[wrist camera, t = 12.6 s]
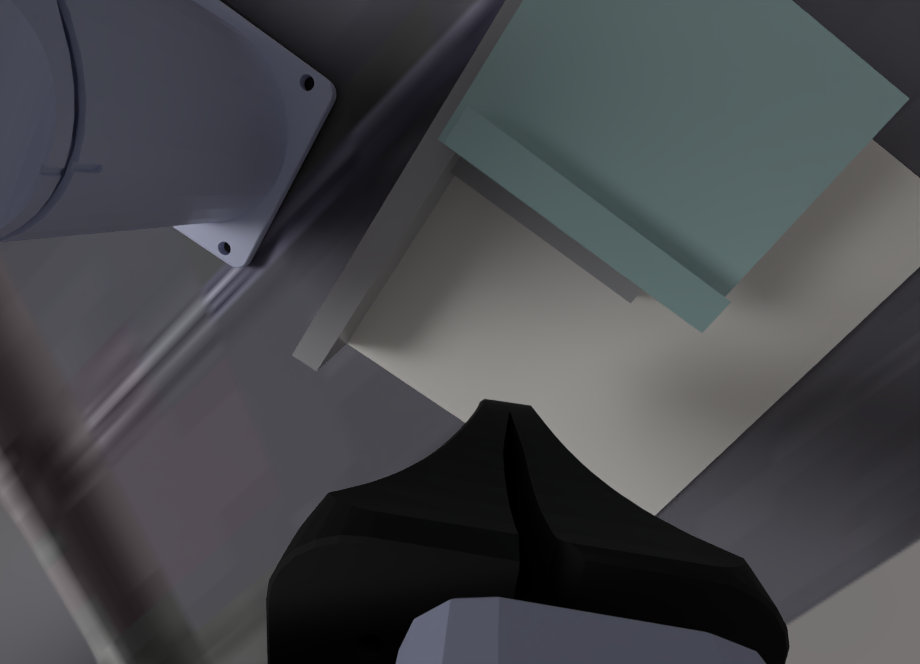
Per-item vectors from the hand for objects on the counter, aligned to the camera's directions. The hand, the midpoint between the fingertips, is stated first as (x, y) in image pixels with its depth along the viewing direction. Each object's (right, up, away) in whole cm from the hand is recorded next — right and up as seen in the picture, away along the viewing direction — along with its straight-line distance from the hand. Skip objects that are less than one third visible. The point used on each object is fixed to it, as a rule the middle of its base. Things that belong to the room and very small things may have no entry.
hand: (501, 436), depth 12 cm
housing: (+5, +5, +5) cm, 9 cm away
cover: (+4, +8, 0) cm, 9 cm away
